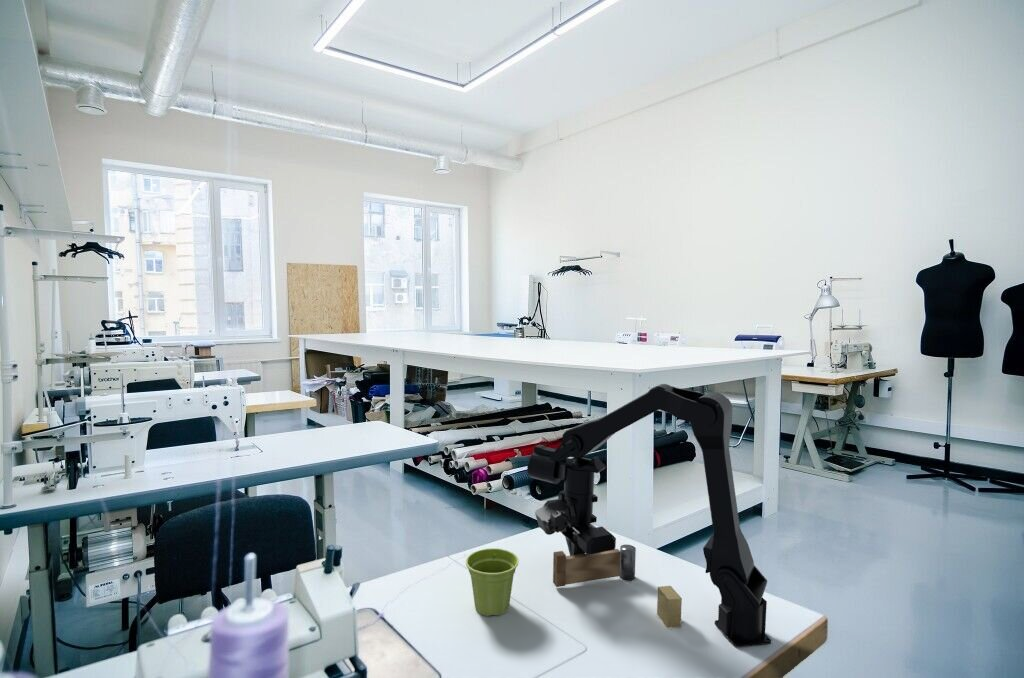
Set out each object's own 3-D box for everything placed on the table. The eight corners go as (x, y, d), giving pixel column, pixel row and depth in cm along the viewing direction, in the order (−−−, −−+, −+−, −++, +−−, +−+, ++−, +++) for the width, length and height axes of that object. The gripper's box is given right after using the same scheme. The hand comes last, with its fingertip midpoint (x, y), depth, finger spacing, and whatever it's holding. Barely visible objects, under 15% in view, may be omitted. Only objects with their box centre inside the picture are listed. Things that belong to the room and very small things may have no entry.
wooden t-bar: (616, 572, 106) (616, 543, 105) (620, 576, 104) (621, 547, 103) (552, 582, 102) (553, 552, 101) (556, 587, 100) (557, 556, 99)
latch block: (669, 612, 94) (670, 585, 93) (680, 626, 90) (681, 598, 89) (656, 614, 93) (657, 586, 93) (667, 628, 89) (668, 599, 89)
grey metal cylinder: (631, 572, 107) (632, 544, 107) (637, 580, 104) (638, 551, 104) (617, 573, 107) (618, 545, 106) (622, 581, 104) (623, 552, 103)
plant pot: (454, 609, 94) (454, 562, 93) (488, 587, 101) (488, 543, 101) (495, 629, 88) (496, 579, 87) (528, 604, 96) (529, 558, 95)
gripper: (521, 477, 109) (519, 549, 110) (565, 513, 91) (561, 599, 93) (569, 471, 113) (566, 541, 114) (619, 505, 96) (615, 587, 97)
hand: (575, 565), depth 105 cm, fingers closed
